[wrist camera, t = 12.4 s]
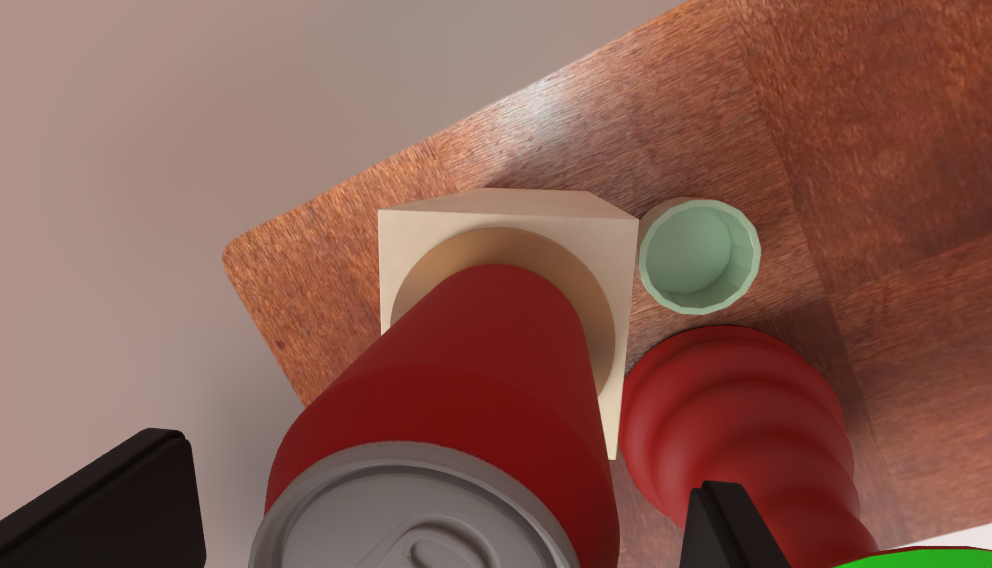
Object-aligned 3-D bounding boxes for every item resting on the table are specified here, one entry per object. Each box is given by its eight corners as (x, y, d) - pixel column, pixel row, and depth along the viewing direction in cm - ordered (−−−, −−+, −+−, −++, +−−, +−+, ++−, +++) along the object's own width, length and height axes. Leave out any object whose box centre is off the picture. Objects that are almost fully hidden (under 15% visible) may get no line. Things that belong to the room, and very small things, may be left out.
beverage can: (387, 363, 20) (145, 636, 8) (470, 224, 18) (315, 318, 6) (525, 449, 20) (483, 839, 8) (621, 320, 18) (738, 583, 7)
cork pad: (389, 222, 19) (386, 223, 18) (624, 232, 18) (626, 233, 17) (394, 429, 21) (391, 434, 20) (604, 448, 20) (605, 454, 19)
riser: (482, 187, 46) (377, 208, 19) (588, 191, 45) (639, 219, 18) (480, 288, 48) (383, 438, 21) (581, 294, 47) (616, 460, 20)
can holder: (634, 194, 44) (645, 197, 39) (743, 198, 43) (769, 202, 38) (624, 295, 46) (633, 310, 41) (728, 300, 45) (751, 318, 40)
